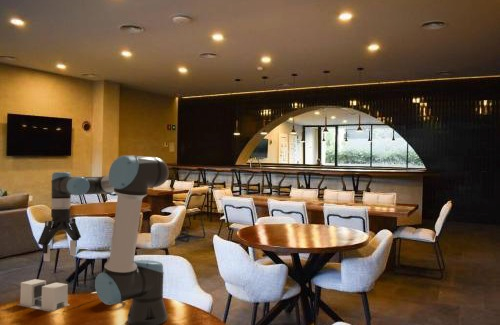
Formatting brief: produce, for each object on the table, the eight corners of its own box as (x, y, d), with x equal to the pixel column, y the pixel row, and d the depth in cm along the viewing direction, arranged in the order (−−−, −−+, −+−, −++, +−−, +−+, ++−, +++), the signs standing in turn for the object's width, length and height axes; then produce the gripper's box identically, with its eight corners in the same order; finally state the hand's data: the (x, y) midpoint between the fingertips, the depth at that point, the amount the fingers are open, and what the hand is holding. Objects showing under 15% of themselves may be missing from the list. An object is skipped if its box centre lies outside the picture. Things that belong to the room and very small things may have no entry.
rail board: (70, 307, 175) (70, 299, 175) (50, 314, 166) (50, 306, 166) (37, 301, 183) (37, 293, 183) (16, 307, 174) (17, 300, 174)
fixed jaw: (20, 303, 175) (20, 282, 176) (34, 299, 182) (35, 279, 182) (32, 306, 172) (32, 284, 173) (46, 301, 179) (47, 281, 179)
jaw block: (67, 305, 174) (67, 284, 174) (53, 310, 167) (53, 288, 167) (54, 303, 177) (54, 282, 177) (40, 307, 170) (40, 286, 170)
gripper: (77, 206, 187) (76, 252, 187) (28, 210, 164) (27, 263, 164) (89, 206, 184) (89, 253, 184) (42, 210, 162) (41, 264, 161)
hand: (60, 258), depth 174 cm, fingers open, 13 cm apart
